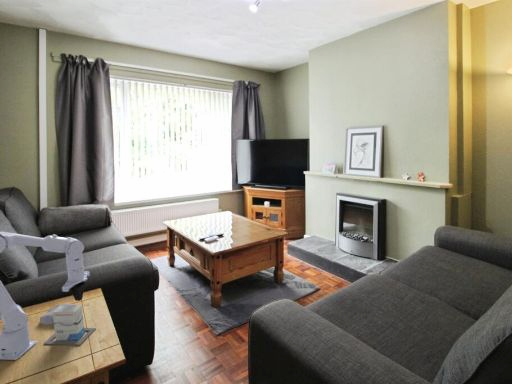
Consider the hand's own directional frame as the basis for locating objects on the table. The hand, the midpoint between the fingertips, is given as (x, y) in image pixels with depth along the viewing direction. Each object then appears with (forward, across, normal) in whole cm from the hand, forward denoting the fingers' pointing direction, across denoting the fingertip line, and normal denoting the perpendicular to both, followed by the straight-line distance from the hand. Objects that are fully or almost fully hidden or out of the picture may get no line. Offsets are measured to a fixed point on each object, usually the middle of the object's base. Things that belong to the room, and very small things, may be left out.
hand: (78, 299), depth 122 cm
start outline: (+10, -8, -1) cm, 13 cm away
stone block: (+11, +5, +13) cm, 18 cm away
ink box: (+11, -8, -1) cm, 14 cm away
